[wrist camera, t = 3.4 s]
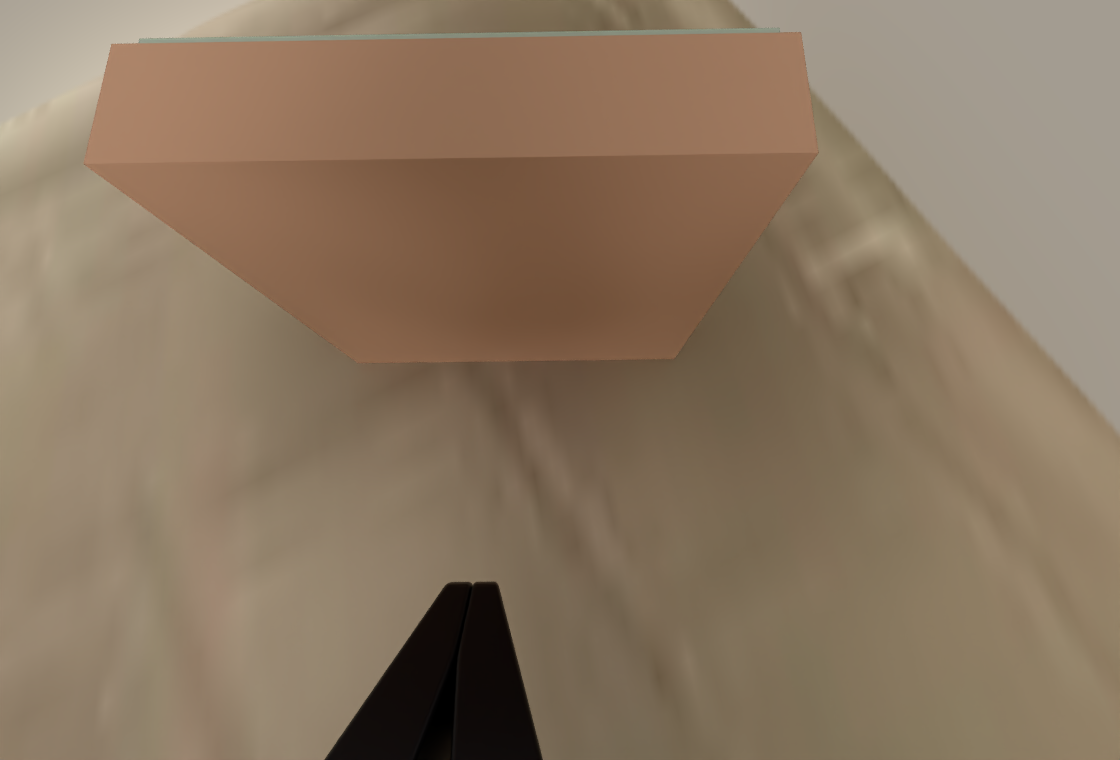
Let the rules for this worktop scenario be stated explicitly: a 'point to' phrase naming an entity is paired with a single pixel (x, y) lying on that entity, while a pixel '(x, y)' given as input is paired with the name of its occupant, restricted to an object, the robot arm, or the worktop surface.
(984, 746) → the worktop surface
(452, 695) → the robot arm
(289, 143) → the tile
